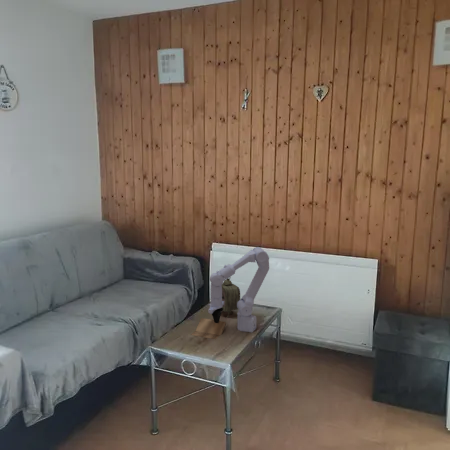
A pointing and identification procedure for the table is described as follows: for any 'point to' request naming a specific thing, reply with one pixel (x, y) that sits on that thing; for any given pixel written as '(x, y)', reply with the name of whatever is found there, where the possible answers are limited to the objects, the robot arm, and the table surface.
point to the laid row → (205, 335)
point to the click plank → (210, 326)
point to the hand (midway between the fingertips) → (216, 322)
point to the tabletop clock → (230, 296)
